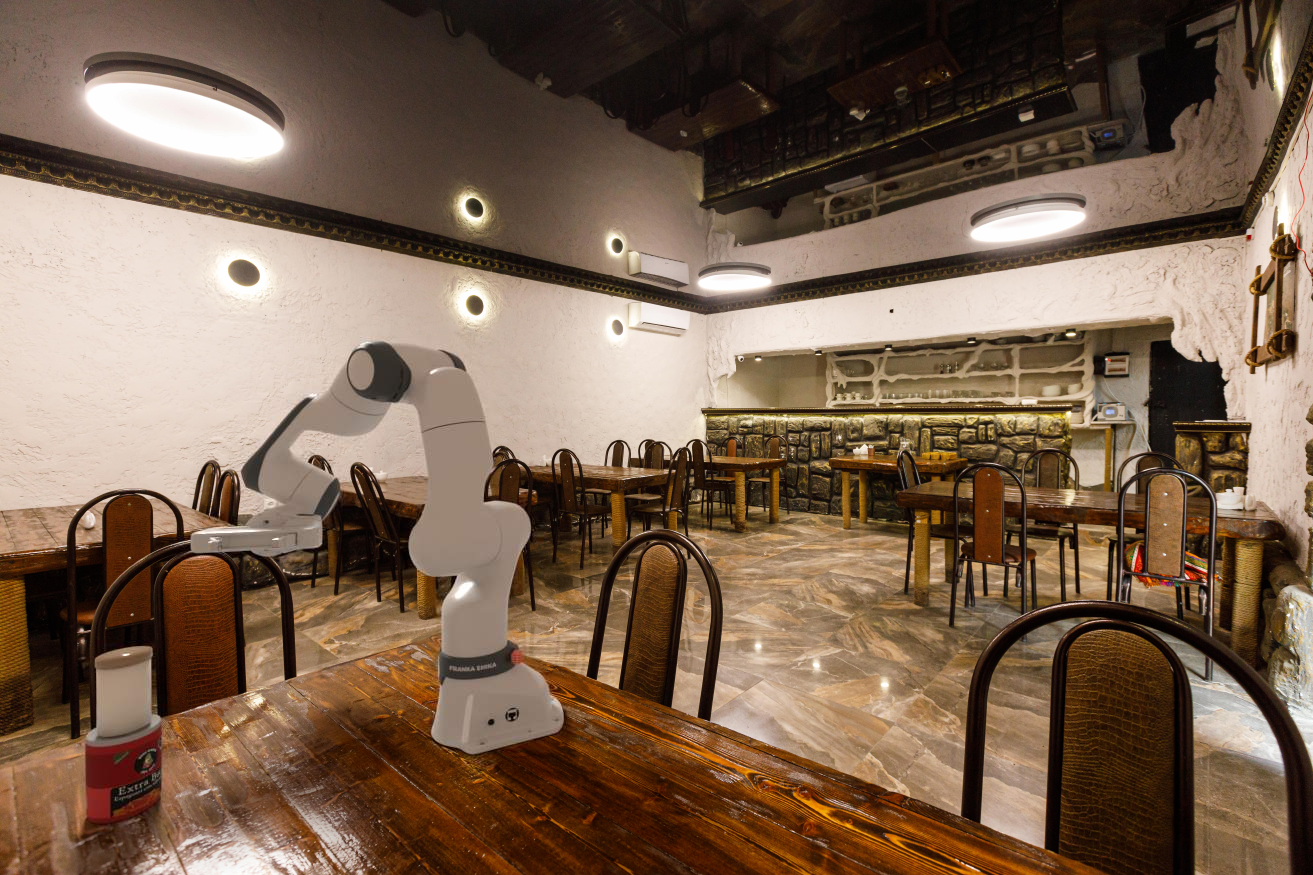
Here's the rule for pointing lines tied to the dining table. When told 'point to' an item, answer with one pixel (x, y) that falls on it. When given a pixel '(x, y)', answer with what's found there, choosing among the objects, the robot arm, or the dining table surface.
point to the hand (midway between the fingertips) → (245, 545)
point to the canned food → (123, 772)
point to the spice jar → (123, 690)
